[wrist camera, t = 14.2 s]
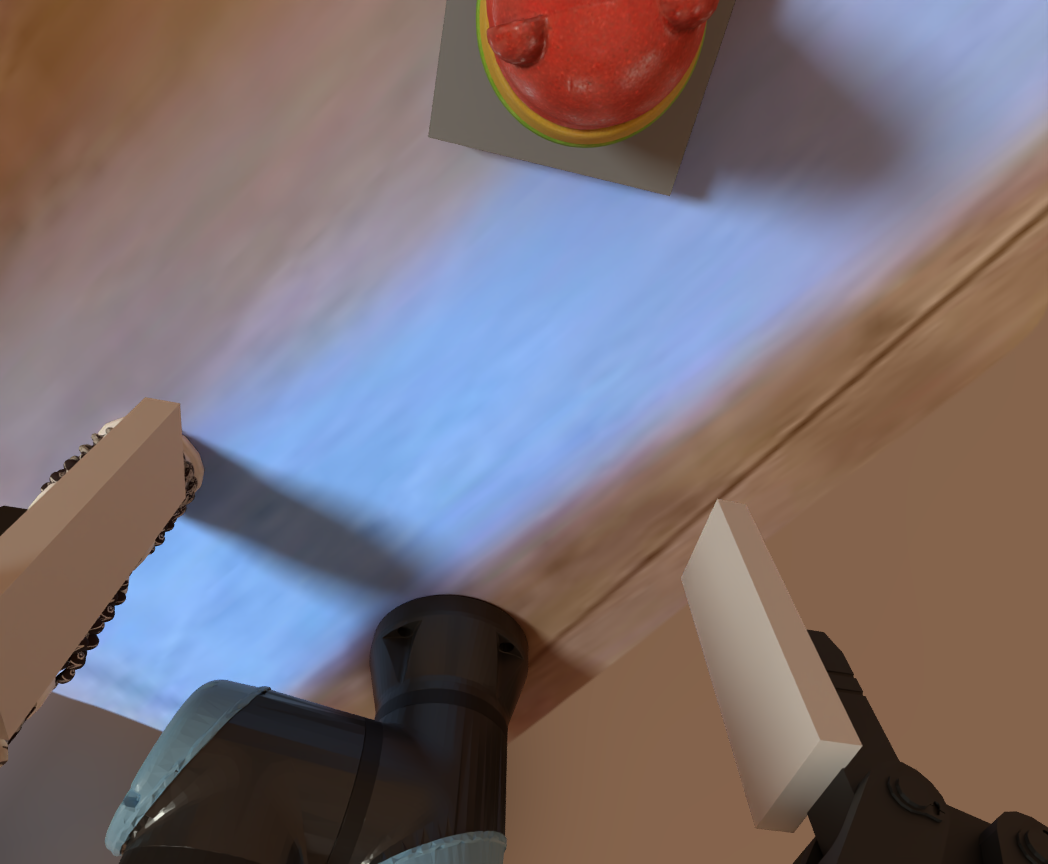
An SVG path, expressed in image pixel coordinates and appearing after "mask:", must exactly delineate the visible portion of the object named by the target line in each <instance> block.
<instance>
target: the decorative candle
mask: <svg viewBox="0 0 1048 864" xmlns="http://www.w3.org/2000/svg"><path fill="white" fill-rule="evenodd" d="M123 418H124V417H122V418H119V419H117V420H114V421H112V422H109V423H106V424H105V425H104V426H103V428H102V429H101V430H100V431H99V433H98V434H96V433H94V434H92V436H91V438H92V440H93V441H94V442H93V443H94V444H93V446H90V445H88V444H85V445H81V446H80V447H79V451H80V452H81V455H80V456H79V457H78V456H72V457H71V458H70V459H68V460H66V461H65V463H64V469H62V470H59V471H58V472H54V473H52V474H51V476H50V482H48V483H45V484H44V485H43V486H42V487H41V492H42V493H41V494H40V495H39V496H38V497H37V498H36V499H35V500H34V502H33V503H32V504H31V505H30V507H31V506H32V505H33V504H35V503H36V502H37V501H38V500H39V499H40V498H41V497H42V496H43V495H44V494H45V493H46V492H47V491H48V490H49V489H50V488H51V487H52V486H53V485H54V484H55V483H56V482H57V481H59V480H60V479H61V478H62V477H63V476H64V475H65V474H66V473H67V472H68V471H69V470H70V469H71V468H72V467H73V466H74V465H75V464H76V463H77V462H78V461H79V460H80V459H82V458H83V457H84V456H85V455H86V454H87V453H88V452H89V451H90V450H91V449H92V448H93V447H94V446H95V445H96V444H97V443H98V442H99V441H100V440H101V439H102V438H103V437H104V436H106V435H107V434H108V433H109V432H110V431H111V430H112V429H113V428H114V427H115V426H116V425H117V424H118V423H119V422H120V421H121V420H122V419H123ZM182 444H183V460H184V476H185V492H186V498H185V499H184V501H183V502H182V504H181V505H180V506H179V508H178V509H177V510H176V512H175V513H174V515H173V516H172V517H171V519H170V520H169V521H168V523H167V524H166V526H165V527H164V528H163V530H162V531H161V532H160V534H159V535H158V537H157V538H156V539H155V541H154V542H153V543H152V545H151V546H150V547H149V549H148V550H147V552H146V553H145V554H144V556H143V557H142V558H141V560H140V561H139V563H138V564H137V565H136V567H135V568H134V569H133V570H135V569H136V568H137V567H138V566H139V565H140V564H141V563H142V562H143V561H144V560H145V558H146V557H147V556H148V555H149V554H152V553H153V552H154V551H155V546H159V545H161V544H162V543H163V542H164V541H165V537H164V536H165V532H168V531H170V530H172V529H173V528H174V523H175V522H176V520H177V518H178V517H180V516H182V515H183V514H184V513H185V511H186V509H187V507H186V505H187V504H189V503H191V502H192V501H193V499H194V497H195V492H196V491H197V490H198V489H199V488H200V487H201V485H202V481H203V476H204V471H205V470H204V467H203V464H202V460H201V457H200V454H199V452H198V451H197V450H196V449H195V448H194V446H193V445H192V444H191V443H190V441H189V440H188V439H187V438H186V437H185V436H184V435H182ZM30 507H29V508H30ZM29 508H28V509H29ZM131 574H132V572H131ZM131 574H130V575H131ZM130 575H129V576H130ZM129 576H128V578H127V579H126V580H125V582H124V583H123V585H122V586H121V587H120V589H119V590H118V591H117V593H116V594H115V596H114V597H113V598H112V600H111V601H110V602H109V604H108V605H107V607H106V608H105V609H104V611H103V612H102V613H101V615H100V617H98V619H97V620H96V622H95V623H94V624H93V626H92V627H91V628H90V630H89V631H88V633H87V634H86V635H85V637H84V638H83V639H82V641H81V642H80V644H79V645H78V646H77V648H76V649H75V650H74V652H73V653H72V655H71V656H70V657H69V659H68V660H67V661H66V663H65V664H64V666H63V667H62V668H61V670H63V669H65V670H64V671H62V672H61V673H60V674H59V675H57V676H56V677H55V678H54V679H53V681H52V682H51V683H50V685H49V686H48V687H47V689H46V690H45V692H44V693H43V694H42V696H41V697H40V698H39V700H38V701H37V703H36V704H35V705H34V707H33V708H32V709H31V711H30V712H29V714H28V715H27V716H26V718H25V719H24V720H23V722H22V723H21V725H20V726H19V727H18V729H17V730H16V731H15V733H14V734H13V736H12V737H11V738H10V740H4V739H0V768H1V767H2V765H4V764H5V763H6V762H7V761H8V745H9V743H10V742H11V741H12V740H13V739H14V738H15V736H16V735H17V734H18V732H19V731H20V730H21V728H22V725H23V724H24V722H25V721H26V720H27V719H29V718H30V717H31V716H32V715H33V714H34V713H35V712H36V711H37V710H38V709H39V708H40V707H41V706H42V704H43V703H44V702H45V700H46V699H47V697H48V696H49V695H50V693H51V692H52V690H53V689H55V688H56V687H57V685H58V683H60V684H64V683H67V682H69V681H70V680H72V678H73V677H74V675H75V670H77V669H80V668H82V667H83V666H84V664H85V661H86V656H87V650H91V649H94V648H95V647H96V646H97V645H98V643H99V639H98V637H97V635H96V634H99V633H100V632H101V631H102V630H103V629H104V626H105V624H104V622H108V621H110V620H112V619H113V618H114V615H115V611H114V610H115V605H120V604H122V603H123V602H124V601H125V600H126V595H125V594H126V593H127V590H128V583H129ZM69 662H70V663H69ZM68 664H69V665H68ZM61 670H60V671H61Z"/></svg>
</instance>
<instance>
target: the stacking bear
mask: <svg viewBox="0 0 1048 864" xmlns="http://www.w3.org/2000/svg"><path fill="white" fill-rule="evenodd" d="M718 3H719V0H477V3H476V34H477V41H478V48H479V53H480V57H481V61H482V64H483V67H484V70H485V73H486V75H487V78H488V80H489V82H490V84H491V86H492V88H493V90H494V92H495V94H496V95H497V97H498V98H499V100H500V101H501V103H502V104H503V106H504V107H505V108H506V109H507V111H508V112H509V113H510V114H511V115H512V116H513V117H514V118H515V119H516V120H517V121H518V122H519V123H520V124H522V125H523V126H524V127H525V128H527V129H528V130H529V131H531V132H533V133H534V134H536V135H538V136H540V137H541V138H543V139H545V140H548V141H550V142H553V143H556V144H560V145H564V146H569V147H577V148H595V147H601V146H607V145H611V144H615V143H618V142H621V141H623V140H626V139H628V138H630V137H632V136H634V135H636V134H638V133H640V132H641V131H643V130H644V129H646V128H647V127H649V126H650V125H651V124H653V123H654V122H655V121H656V120H657V119H659V118H660V117H661V116H662V115H663V114H664V113H665V112H666V111H667V110H668V109H669V108H670V106H671V105H672V104H673V103H674V102H675V100H676V99H677V98H678V96H679V95H680V93H681V92H682V91H683V89H684V88H685V86H686V84H687V82H688V80H689V79H690V77H691V75H692V73H693V71H694V68H695V66H696V64H697V61H698V58H699V55H700V52H701V49H702V45H703V42H704V37H705V32H706V25H707V20H708V19H709V18H710V17H711V15H712V14H713V13H714V11H715V10H716V8H717V5H718Z"/></svg>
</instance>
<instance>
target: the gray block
mask: <svg viewBox="0 0 1048 864" xmlns="http://www.w3.org/2000/svg"><path fill="white" fill-rule="evenodd" d="M735 1H736V0H719V3H718V5H717V8H716V10H715V11H714V13H713V14H712V15H711V17H710V18H709V19H708V20H707V25H706V32H705V37H704V42H703V45H702V49H701V52H700V55H699V58H698V61H697V64H696V66H695V68H694V71H693V73H692V75H691V77H690V79H689V80H688V82H687V84H686V86H685V88H684V89H683V91H682V92H681V93H680V95H679V96H678V98H677V99H676V100H675V102H674V103H673V104H672V105H671V106H670V108H669V109H668V110H667V111H666V112H665V113H664V114H663V115H662V116H661V117H660V118H659V119H657V120H656V121H655V122H654V123H653V124H651V125H650V126H649V127H647V128H646V129H644V130H643V131H641V132H640V133H638V134H636V135H634V136H632V137H630V138H628V139H626V140H623V141H621V142H618V143H615V144H611V145H607V146H601V147H595V148H577V147H569V146H564V145H560V144H556V143H553V142H550V141H548V140H545V139H543V138H541V137H540V136H538V135H536V134H534V133H533V132H531V131H529V130H528V129H527V128H525V127H524V126H523V125H522V124H520V123H519V122H518V121H517V120H516V119H515V118H514V117H513V116H512V115H511V114H510V113H509V112H508V111H507V109H506V108H505V107H504V106H503V104H502V103H501V101H500V100H499V98H498V97H497V95H496V94H495V92H494V90H493V88H492V86H491V84H490V82H489V80H488V78H487V75H486V73H485V70H484V67H483V64H482V61H481V57H480V53H479V48H478V41H477V34H476V3H477V0H447V2H446V9H445V16H444V24H443V31H442V39H441V46H440V53H439V61H438V68H437V76H436V83H435V90H434V98H433V105H432V113H431V120H430V127H429V135H428V137H430V138H434V139H438V140H442V141H446V142H450V143H454V144H458V145H462V146H467V147H471V148H475V149H479V150H483V151H487V152H491V153H495V154H499V155H504V156H508V157H512V158H516V159H520V160H524V161H528V162H532V163H536V164H541V165H545V166H549V167H553V168H557V169H561V170H565V171H569V172H573V173H578V174H582V175H586V176H590V177H594V178H598V179H602V180H606V181H610V182H615V183H619V184H623V185H627V186H631V187H635V188H639V189H643V190H647V191H652V192H656V193H660V194H664V195H668V196H670V194H671V191H672V188H673V185H674V182H675V179H676V176H677V173H678V170H679V167H680V164H681V161H682V158H683V155H684V152H685V149H686V146H687V143H688V140H689V137H690V135H691V132H692V129H693V126H694V123H695V120H696V117H697V114H698V111H699V108H700V105H701V102H702V99H703V96H704V93H705V90H706V87H707V84H708V81H709V78H710V75H711V72H712V69H713V66H714V63H715V60H716V57H717V54H718V51H719V48H720V45H721V42H722V39H723V36H724V33H725V30H726V28H727V25H728V22H729V19H730V16H731V13H732V10H733V7H734V4H735Z"/></svg>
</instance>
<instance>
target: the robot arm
mask: <svg viewBox="0 0 1048 864" xmlns="http://www.w3.org/2000/svg"><path fill="white" fill-rule="evenodd" d="M185 498H186V492H185V476H184V460H183V444H182V428H181V411H180V403H174V402H169V401H163V400H157V399H152V398H146V397H145V398H144V399H143V400H142V401H141V402H140V403H139V404H138V405H137V406H136V407H135V408H134V409H133V410H132V411H131V412H130V413H129V414H127V415H126V416H125V417H124V418H123V419H122V420H121V421H120V422H119V423H118V424H117V425H116V426H115V427H114V428H113V429H112V430H111V431H110V432H109V433H108V434H107V435H106V436H104V437H103V438H102V439H101V440H100V441H99V442H98V443H97V444H96V445H95V446H94V447H93V448H92V449H91V450H90V451H89V452H88V453H87V454H86V455H85V456H84V457H83V458H82V459H80V460H79V461H78V462H77V463H76V464H75V465H74V466H73V467H72V468H71V469H70V470H69V471H68V472H67V473H66V474H65V475H64V476H63V477H62V478H61V479H60V480H59V481H57V482H56V483H55V484H54V485H53V486H52V487H51V488H50V489H49V490H48V491H47V492H46V493H45V494H44V495H43V496H42V497H41V498H40V499H39V500H38V501H37V502H36V503H35V504H33V505H32V506H31V507H30V508H29V509H22V508H16V507H9V506H2V507H0V739H4V740H10V738H11V737H12V736H13V734H14V733H15V731H16V730H17V729H18V727H19V726H20V725H21V723H22V722H23V720H24V719H25V718H26V716H27V715H28V714H29V712H30V711H31V709H32V708H33V707H34V705H35V704H36V703H37V701H38V700H39V698H40V697H41V696H42V694H43V693H44V692H45V690H46V689H47V687H48V686H49V685H50V683H51V682H52V681H53V679H54V678H55V677H56V675H57V674H58V672H59V671H60V670H61V668H62V667H63V666H64V664H65V663H66V661H67V660H68V659H69V657H70V656H71V655H72V653H73V652H74V650H75V649H76V648H77V646H78V645H79V644H80V642H81V641H82V639H83V638H84V637H85V635H86V634H87V633H88V631H89V630H90V628H91V627H92V626H93V624H94V623H95V622H96V620H97V619H98V617H99V616H100V615H101V613H102V612H103V611H104V609H105V608H106V607H107V605H108V604H109V602H110V601H111V600H112V598H113V597H114V596H115V594H116V593H117V591H118V590H119V589H120V587H121V586H122V585H123V583H124V582H125V580H126V579H127V578H128V576H129V575H130V574H131V572H132V571H133V569H134V568H135V567H136V565H137V564H138V563H139V561H140V560H141V558H142V557H143V556H144V554H145V553H146V552H147V550H148V549H149V547H150V546H151V545H152V543H153V542H154V541H155V539H156V538H157V537H158V535H159V534H160V532H161V531H162V530H163V528H164V527H165V526H166V524H167V523H168V521H169V520H170V519H171V517H172V516H173V515H174V513H175V512H176V510H177V509H178V508H179V506H180V505H181V504H182V502H183V501H184V499H185ZM681 579H682V583H683V586H684V589H685V593H686V596H687V600H688V603H689V606H690V610H691V613H692V616H693V619H694V623H695V626H696V630H697V633H698V636H699V640H700V643H701V647H702V650H703V653H704V657H705V660H706V663H707V667H708V670H709V674H710V677H711V680H712V683H713V687H714V690H715V694H716V697H717V700H718V704H719V707H720V710H721V714H722V717H723V721H724V724H725V727H726V731H727V734H728V737H729V741H730V744H731V748H732V751H733V754H734V758H735V761H736V764H737V767H738V771H739V774H740V778H741V781H742V785H743V788H744V791H745V795H746V798H747V801H748V805H749V808H750V812H751V815H752V818H753V821H754V825H755V828H757V829H765V830H774V831H783V832H791V833H794V832H795V830H796V829H797V828H798V827H799V825H800V824H801V823H802V822H803V820H804V819H805V817H806V816H807V815H808V817H809V820H810V822H811V825H812V828H813V831H814V833H815V838H814V839H813V840H812V841H811V842H810V844H809V845H808V846H807V847H806V848H805V850H804V851H803V852H802V853H801V854H800V856H799V857H798V858H797V859H796V860H795V862H794V863H793V864H1048V827H1046V826H1045V825H1043V824H1042V823H1040V822H1038V821H1037V820H1035V819H1034V818H1032V817H1030V816H1027V815H1024V814H1022V813H1019V812H1004V813H1003V814H1002V815H1001V816H999V817H998V818H997V819H996V820H995V821H994V822H993V823H992V824H990V823H988V822H985V821H983V820H981V819H978V818H976V817H974V816H972V815H969V814H967V813H965V812H962V811H960V810H958V809H955V808H953V807H951V806H949V805H947V804H946V803H945V801H944V799H943V797H942V796H941V794H940V793H939V792H938V790H937V789H936V788H935V787H934V785H933V784H932V783H931V782H930V781H929V780H928V779H927V778H925V777H924V776H923V775H922V774H921V773H919V772H918V771H917V770H915V769H913V768H912V767H910V766H908V765H906V764H904V763H902V762H900V761H899V759H898V758H897V756H896V754H895V752H894V750H893V748H892V746H891V744H890V742H889V740H888V738H887V737H886V735H885V733H884V731H883V729H882V727H881V725H880V723H879V721H878V720H877V717H876V716H875V714H874V712H873V710H872V708H871V706H870V704H869V702H868V700H867V698H866V697H865V696H863V691H862V689H861V687H860V685H859V683H858V681H857V679H856V678H854V677H853V675H854V674H853V672H852V670H851V668H850V666H849V664H848V662H847V660H846V658H845V656H844V654H843V653H842V651H841V650H840V649H839V648H838V647H837V646H836V645H835V644H834V643H833V642H832V641H831V640H830V638H828V636H827V635H826V634H825V633H824V632H819V631H813V630H806V628H805V626H804V624H803V622H802V620H801V617H800V615H799V614H798V611H797V609H796V607H795V605H794V603H793V601H792V599H791V597H790V595H789V593H788V591H787V589H786V586H785V584H784V582H783V580H782V578H781V576H780V574H779V572H778V570H777V568H776V566H775V564H774V562H773V560H772V558H771V555H770V553H769V551H768V549H767V547H766V545H765V543H764V541H763V539H762V537H761V535H760V533H759V530H758V528H757V526H756V524H755V522H754V520H753V518H752V516H751V514H750V512H749V510H748V508H747V506H746V504H743V503H737V502H731V501H726V500H720V499H717V501H716V503H715V505H714V507H713V510H712V512H711V514H710V516H709V518H708V520H707V523H706V525H705V527H704V529H703V531H702V534H701V536H700V538H699V540H698V542H697V544H696V547H695V549H694V551H693V553H692V555H691V557H690V560H689V562H688V564H687V566H686V568H685V571H684V573H683V575H682V577H681ZM370 672H371V680H372V687H373V695H374V703H375V711H376V715H375V720H372V719H368V718H365V717H362V716H358V715H355V714H351V713H348V712H344V711H340V710H337V709H333V708H330V707H327V706H323V705H320V704H317V703H313V702H310V701H306V700H303V699H300V698H296V697H293V696H290V695H286V694H283V693H280V692H276V691H273V690H271V688H270V687H267V686H262V687H255V686H250V685H246V684H241V683H237V682H233V681H228V680H214V681H210V682H208V683H206V684H204V685H202V686H201V687H199V688H198V689H197V690H196V691H195V692H193V693H192V695H191V696H190V697H189V698H188V699H187V700H186V701H185V702H184V704H183V705H182V706H181V707H180V709H179V710H178V711H177V713H176V714H175V716H174V717H173V718H172V720H171V721H170V723H169V724H168V725H167V727H166V728H165V730H164V731H163V733H162V734H161V736H160V737H159V739H158V741H157V742H156V744H155V745H154V747H153V748H152V750H151V752H150V753H149V755H148V757H147V758H146V760H145V761H144V763H143V765H142V766H141V768H140V769H139V771H138V773H137V775H136V777H135V779H134V780H133V782H132V784H131V789H130V791H129V792H127V794H126V796H125V798H124V800H123V802H122V803H121V805H120V806H119V808H118V809H117V811H116V813H115V815H114V818H113V819H112V822H111V824H110V826H109V828H108V831H107V834H106V838H105V844H106V847H107V849H109V850H110V851H112V853H113V855H114V856H120V855H121V856H122V858H121V860H120V862H119V864H503V856H504V852H505V850H506V846H507V845H506V837H505V815H506V812H505V811H506V771H507V732H508V724H509V722H510V719H511V716H512V714H513V711H514V709H515V706H516V704H517V701H518V698H519V696H520V693H521V691H522V688H523V686H524V683H525V680H526V677H527V672H528V643H527V640H526V637H525V634H524V633H523V631H522V629H521V628H520V626H519V625H518V624H517V623H516V622H515V621H514V620H513V619H512V618H511V617H510V616H509V615H507V614H506V613H505V612H503V611H502V610H500V609H498V608H496V607H494V606H492V605H490V604H488V603H485V602H482V601H479V600H476V599H472V598H467V597H461V596H450V595H441V596H430V597H424V598H419V599H415V600H412V601H409V602H407V603H405V604H402V605H400V606H399V607H397V608H395V609H394V610H392V611H391V612H390V613H388V614H387V615H386V616H385V617H384V618H383V619H382V621H381V622H380V623H379V625H378V627H377V629H376V632H375V635H374V639H373V643H372V647H371V651H370Z"/></svg>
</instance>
